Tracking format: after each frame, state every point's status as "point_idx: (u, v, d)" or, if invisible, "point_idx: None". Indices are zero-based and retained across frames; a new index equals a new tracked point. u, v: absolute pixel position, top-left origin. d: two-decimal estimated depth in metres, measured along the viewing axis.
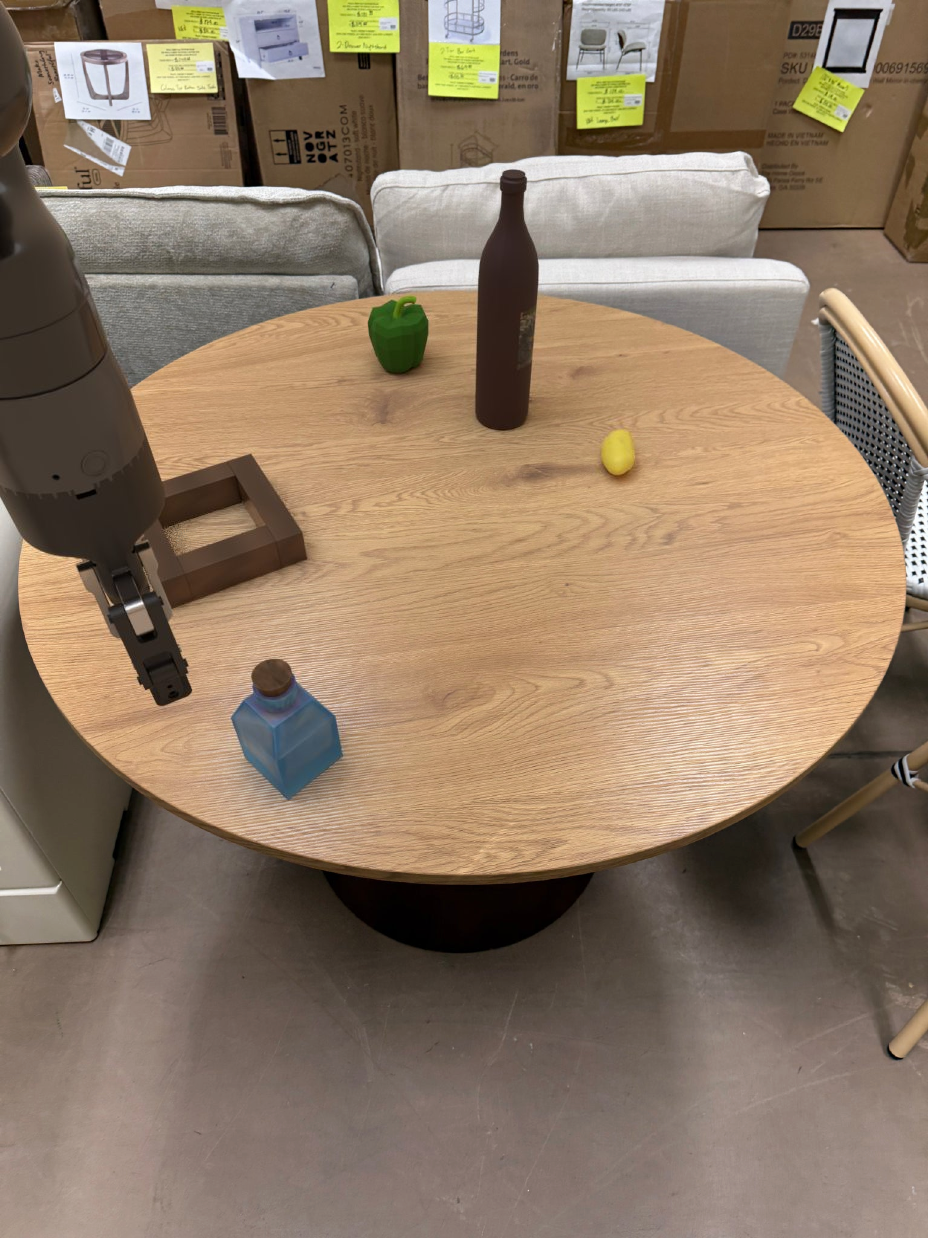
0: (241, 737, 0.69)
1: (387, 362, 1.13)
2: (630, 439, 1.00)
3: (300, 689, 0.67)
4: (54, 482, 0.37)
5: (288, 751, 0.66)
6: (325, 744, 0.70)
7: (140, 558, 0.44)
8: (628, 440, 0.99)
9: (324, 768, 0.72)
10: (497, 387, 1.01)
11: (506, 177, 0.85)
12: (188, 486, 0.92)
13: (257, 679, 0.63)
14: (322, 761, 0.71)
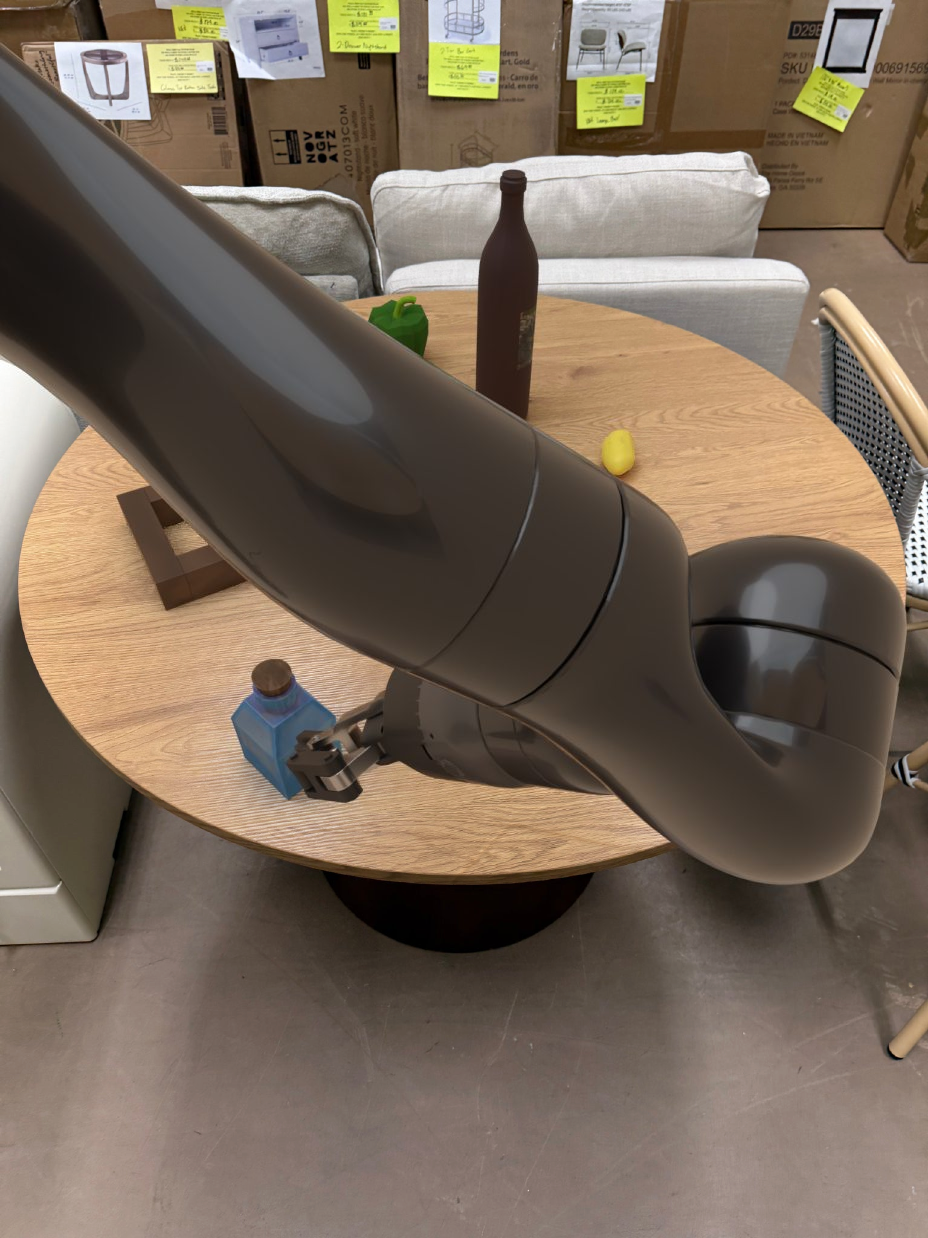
0: (241, 737, 0.69)
1: None
2: (630, 439, 1.00)
3: (300, 689, 0.67)
4: (428, 733, 0.37)
5: (287, 751, 0.66)
6: None
7: None
8: (629, 440, 0.99)
9: None
10: (497, 387, 1.01)
11: (506, 177, 0.85)
12: None
13: (257, 679, 0.63)
14: None
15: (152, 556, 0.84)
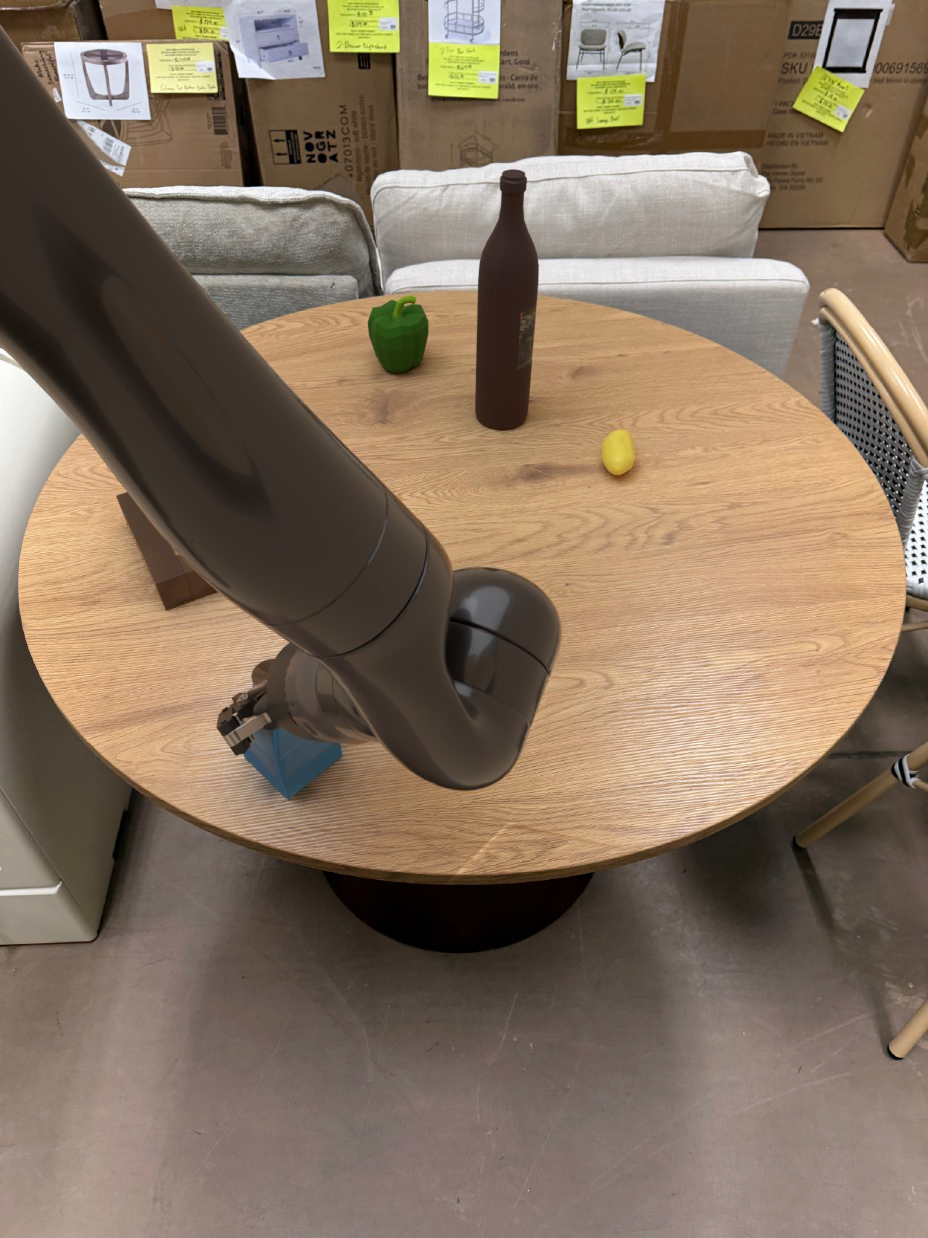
0: None
1: (387, 362, 1.13)
2: (630, 439, 1.00)
3: None
4: (290, 703, 0.51)
5: (287, 751, 0.66)
6: (325, 744, 0.69)
7: None
8: (629, 440, 0.99)
9: (324, 768, 0.72)
10: (497, 387, 1.01)
11: (506, 177, 0.85)
12: None
13: (257, 679, 0.63)
14: (322, 761, 0.71)
15: (152, 556, 0.84)
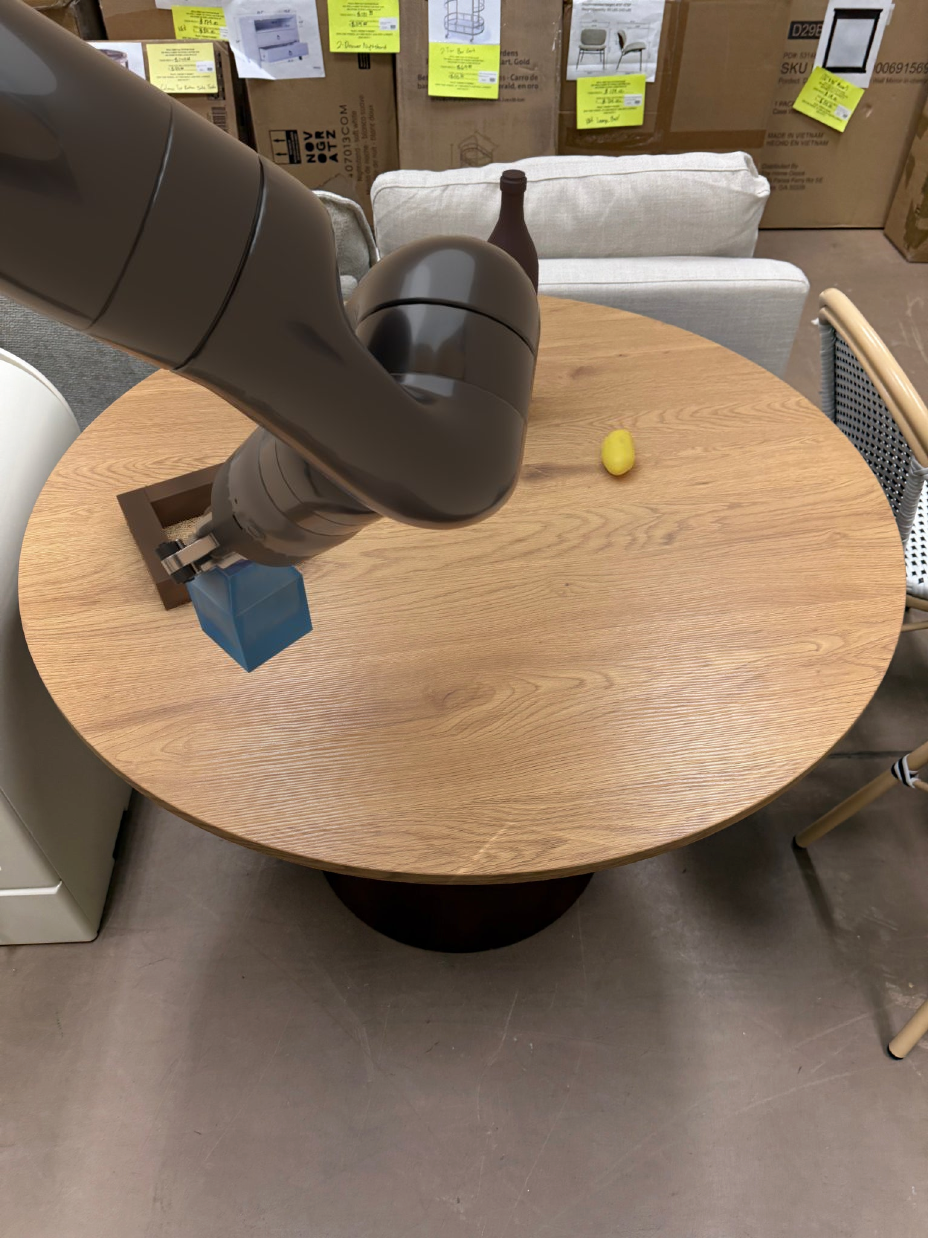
0: (196, 600, 0.61)
1: None
2: (630, 439, 1.00)
3: None
4: (234, 499, 0.43)
5: (246, 607, 0.58)
6: (291, 609, 0.61)
7: None
8: (629, 440, 0.99)
9: (291, 641, 0.63)
10: None
11: (506, 177, 0.85)
12: (188, 486, 0.92)
13: None
14: (289, 632, 0.63)
15: (152, 556, 0.84)
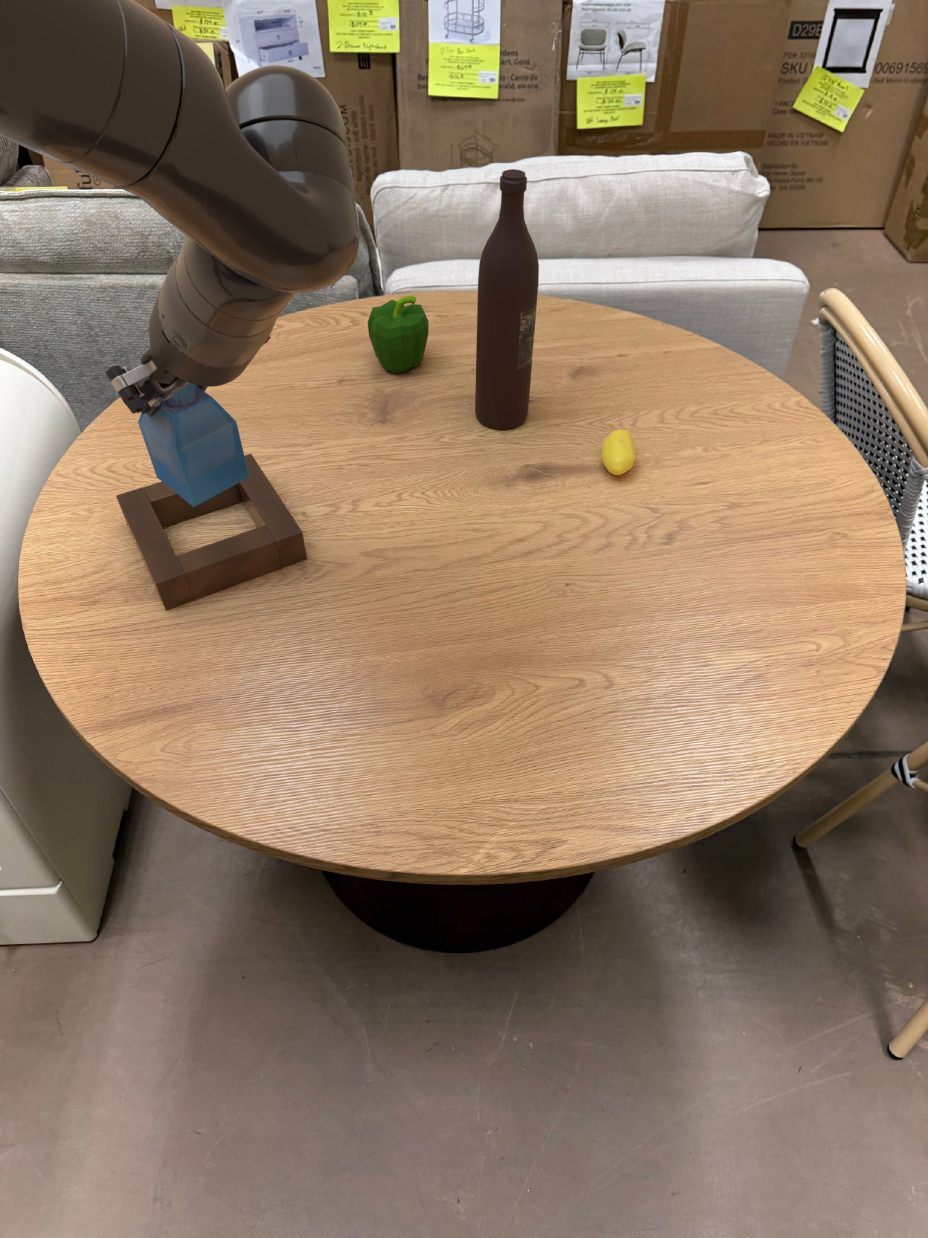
0: (149, 445, 0.74)
1: (387, 362, 1.13)
2: (630, 439, 1.00)
3: (201, 391, 0.71)
4: (161, 315, 0.55)
5: (188, 443, 0.70)
6: (228, 453, 0.74)
7: None
8: (629, 440, 0.99)
9: (230, 484, 0.76)
10: (497, 387, 1.01)
11: (506, 177, 0.85)
12: None
13: None
14: (227, 474, 0.75)
15: (152, 556, 0.84)
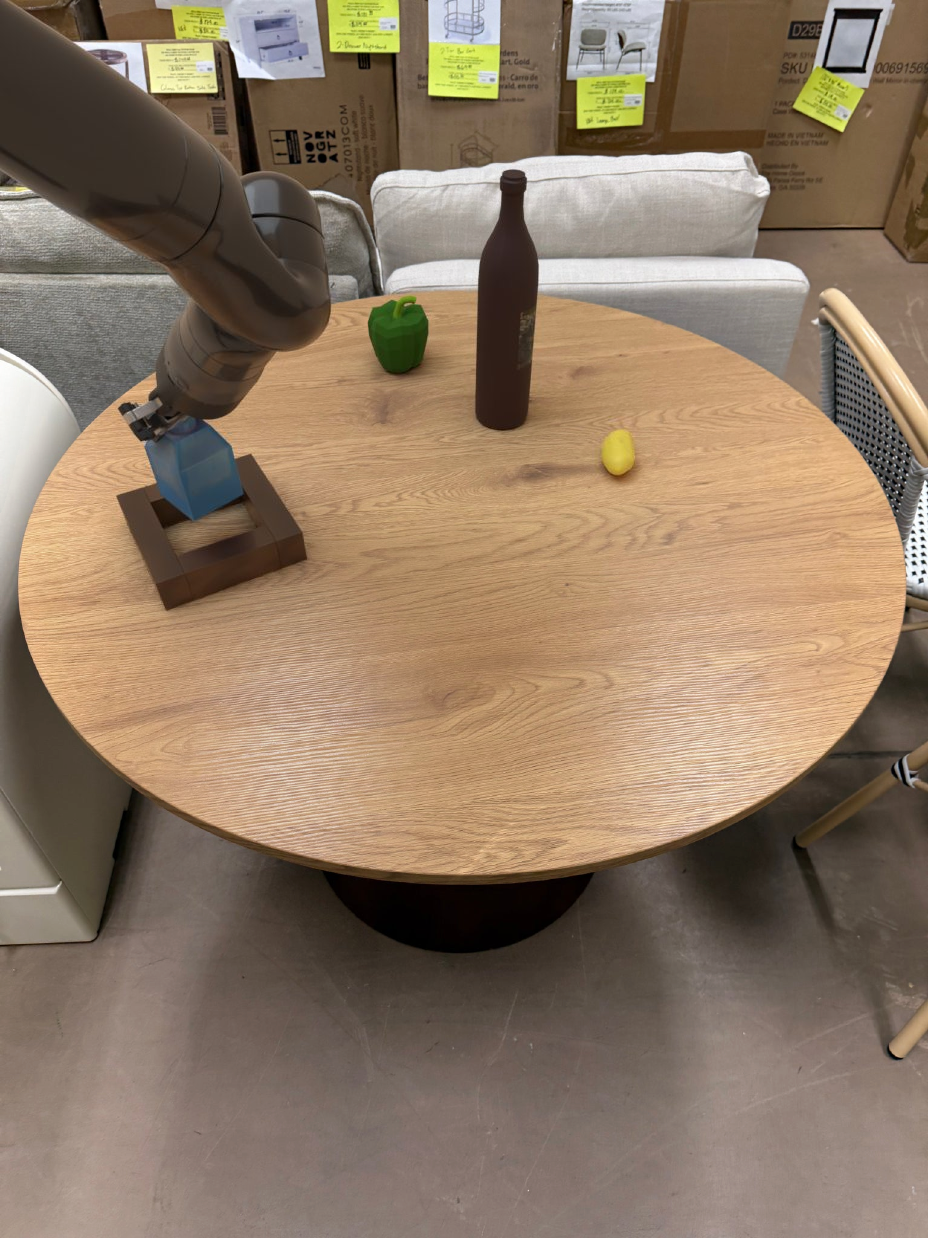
0: (154, 467, 0.83)
1: (387, 362, 1.13)
2: (630, 439, 1.00)
3: (200, 419, 0.81)
4: (167, 362, 0.65)
5: (189, 466, 0.80)
6: (224, 473, 0.83)
7: None
8: (629, 440, 0.99)
9: (226, 500, 0.85)
10: (497, 387, 1.01)
11: (506, 177, 0.85)
12: None
13: None
14: (224, 492, 0.84)
15: (152, 556, 0.84)
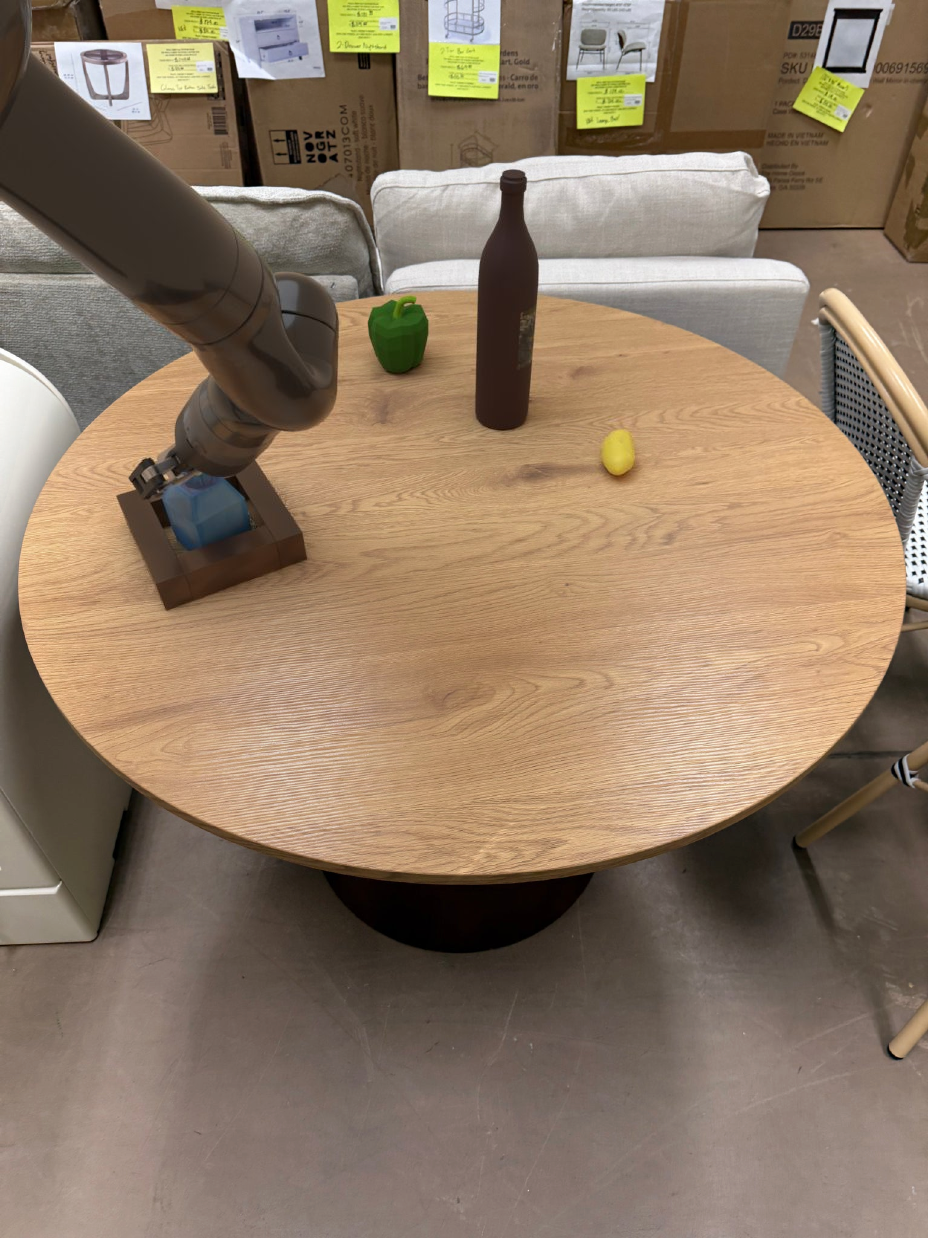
0: (171, 517, 0.88)
1: (387, 362, 1.13)
2: (630, 439, 1.00)
3: None
4: (186, 428, 0.69)
5: (204, 518, 0.85)
6: (237, 523, 0.88)
7: None
8: (629, 440, 0.99)
9: None
10: (497, 387, 1.01)
11: (506, 177, 0.85)
12: None
13: None
14: None
15: (152, 556, 0.84)
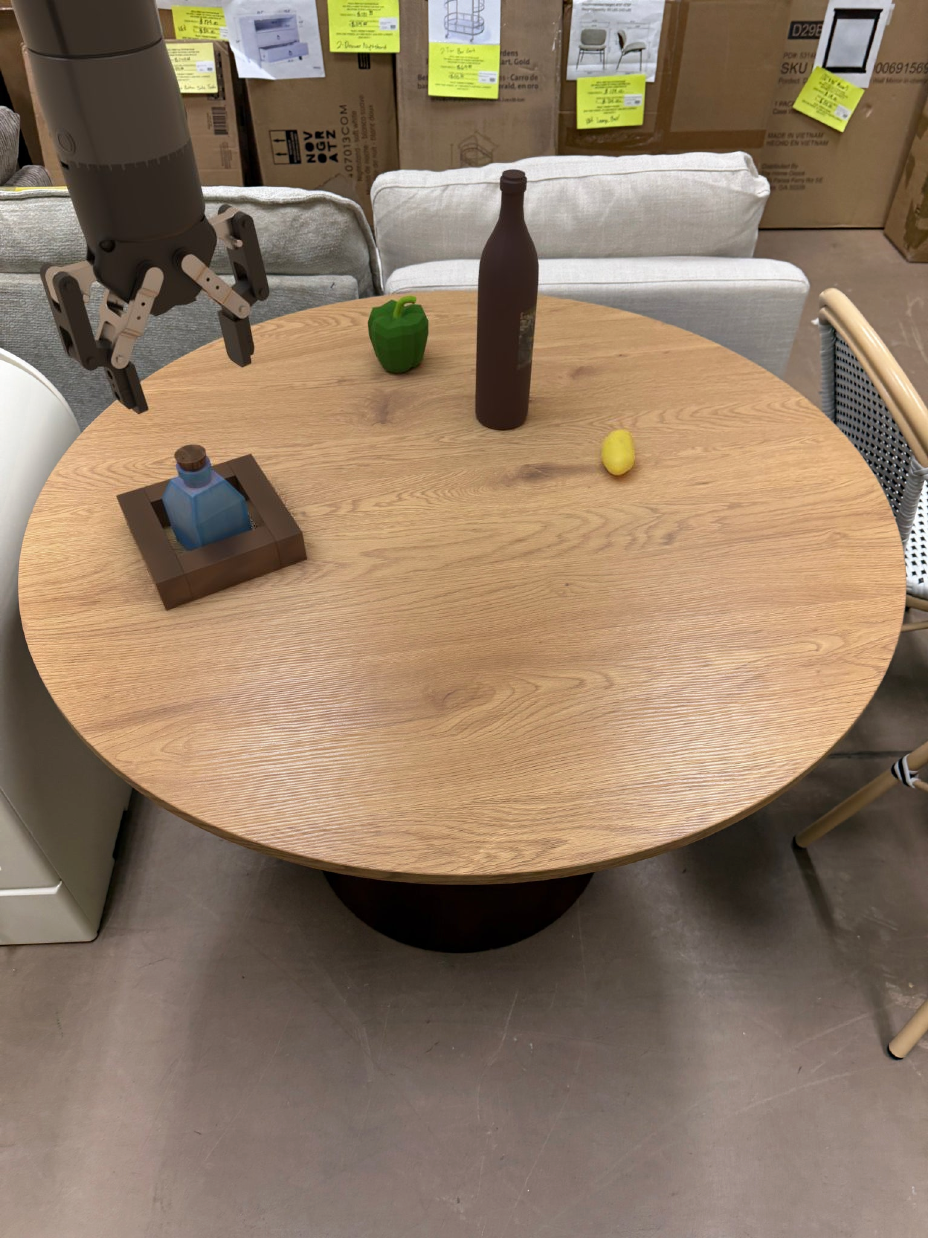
0: (171, 517, 0.88)
1: (387, 362, 1.13)
2: (630, 439, 1.00)
3: (215, 473, 0.86)
4: (51, 139, 0.45)
5: (204, 518, 0.85)
6: (237, 523, 0.88)
7: (138, 273, 0.50)
8: (628, 440, 0.99)
9: None
10: (497, 387, 1.01)
11: (506, 177, 0.85)
12: None
13: (178, 456, 0.82)
14: None
15: (152, 556, 0.84)
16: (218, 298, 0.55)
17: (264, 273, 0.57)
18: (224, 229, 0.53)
